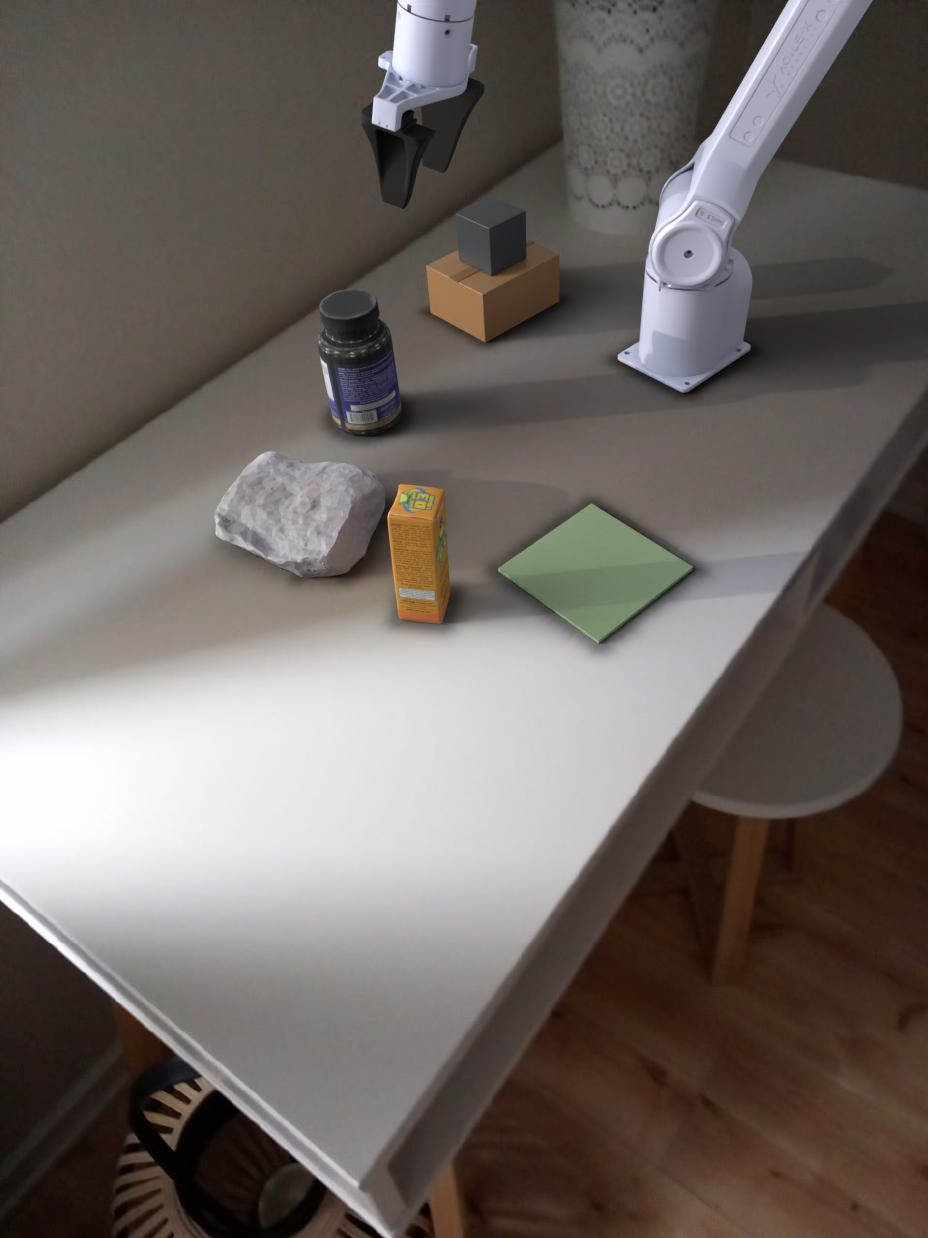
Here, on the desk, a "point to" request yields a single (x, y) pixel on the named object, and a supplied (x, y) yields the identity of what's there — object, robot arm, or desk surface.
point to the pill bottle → (358, 363)
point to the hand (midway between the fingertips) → (415, 185)
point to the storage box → (493, 291)
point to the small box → (491, 235)
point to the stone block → (302, 513)
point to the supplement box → (420, 553)
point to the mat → (595, 571)
